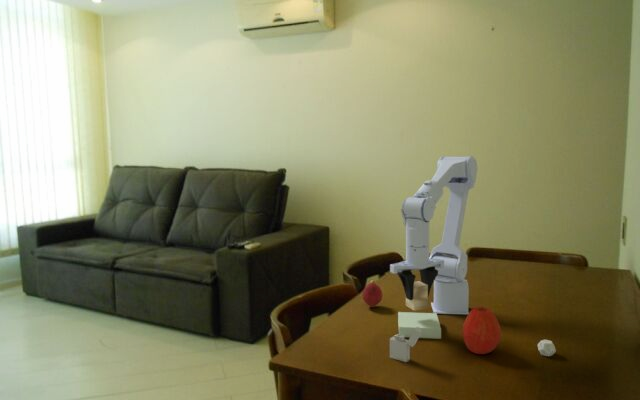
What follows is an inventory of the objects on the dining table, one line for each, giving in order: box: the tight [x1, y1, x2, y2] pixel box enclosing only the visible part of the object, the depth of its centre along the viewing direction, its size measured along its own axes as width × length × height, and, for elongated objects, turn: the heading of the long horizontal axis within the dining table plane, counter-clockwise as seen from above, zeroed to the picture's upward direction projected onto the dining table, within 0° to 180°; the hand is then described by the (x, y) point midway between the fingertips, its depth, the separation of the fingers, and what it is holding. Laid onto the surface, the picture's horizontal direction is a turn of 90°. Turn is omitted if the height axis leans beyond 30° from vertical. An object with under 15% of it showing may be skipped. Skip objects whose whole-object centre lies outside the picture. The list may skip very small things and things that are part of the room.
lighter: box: [389, 326, 423, 363], centre depth 96 cm, size 7×2×8 cm, turn 54°
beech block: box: [405, 280, 429, 311], centre depth 112 cm, size 4×4×6 cm
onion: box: [361, 279, 383, 308], centre depth 129 cm, size 6×6×8 cm
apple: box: [462, 305, 502, 355], centre depth 99 cm, size 8×8×11 cm
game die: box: [537, 338, 557, 357], centre depth 98 cm, size 4×4×3 cm
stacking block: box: [397, 311, 442, 340], centre depth 113 cm, size 10×10×3 cm
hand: (417, 297), depth 112 cm, fingers closed on beech block, 4 cm apart
